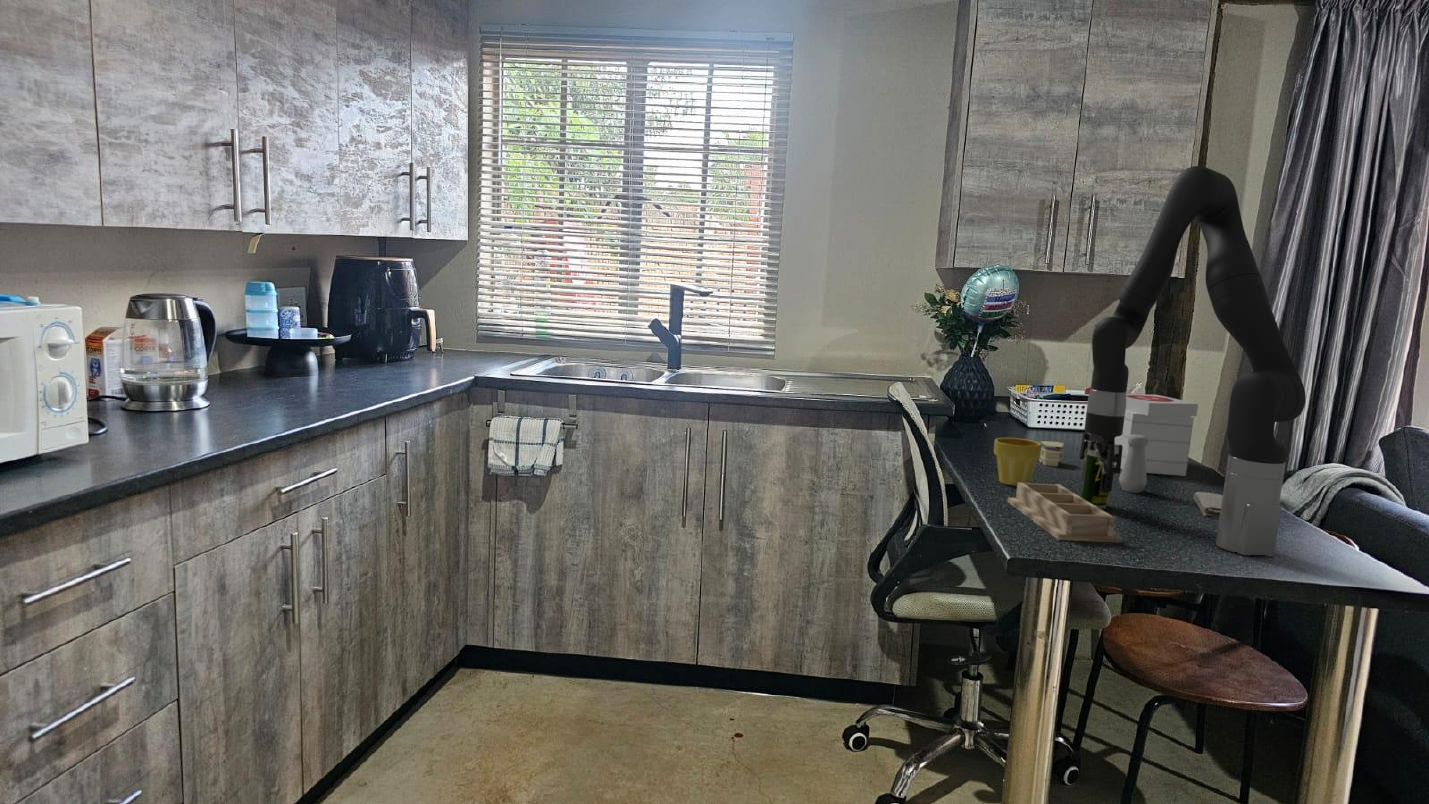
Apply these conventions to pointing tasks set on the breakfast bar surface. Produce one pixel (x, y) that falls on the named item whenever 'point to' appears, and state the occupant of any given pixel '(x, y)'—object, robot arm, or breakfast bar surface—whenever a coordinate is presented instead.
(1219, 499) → the washcloth
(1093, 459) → the beer can
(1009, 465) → the plant pot
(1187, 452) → the pizza boxes
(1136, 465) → the salt shaker
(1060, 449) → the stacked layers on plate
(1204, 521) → the breakfast bar surface
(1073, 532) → the wooden compartment organizer
